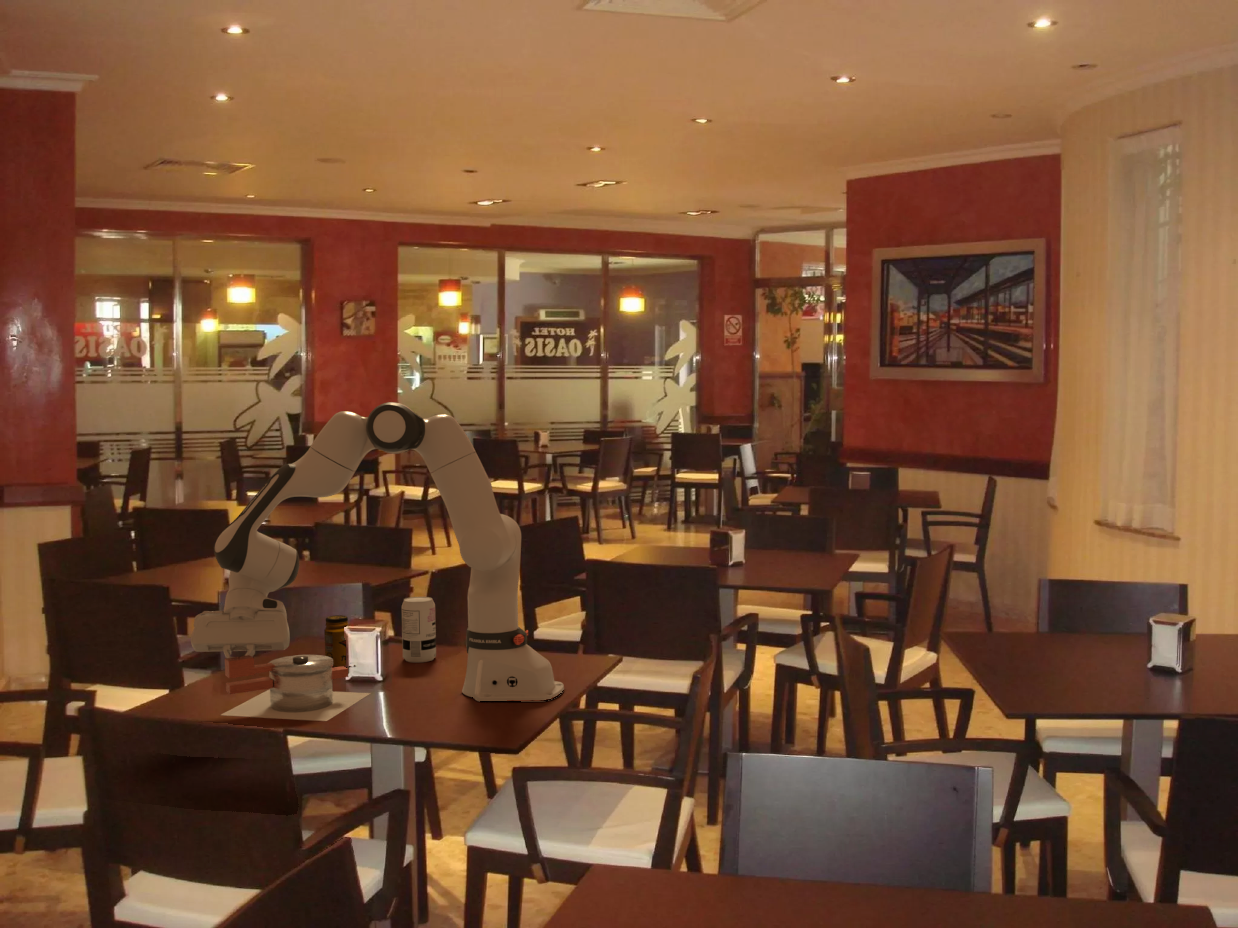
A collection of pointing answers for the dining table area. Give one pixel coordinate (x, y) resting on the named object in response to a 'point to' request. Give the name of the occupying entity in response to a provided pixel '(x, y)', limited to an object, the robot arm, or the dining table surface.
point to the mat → (262, 709)
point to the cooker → (294, 689)
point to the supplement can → (418, 629)
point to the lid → (277, 665)
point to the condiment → (336, 639)
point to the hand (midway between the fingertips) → (236, 666)
